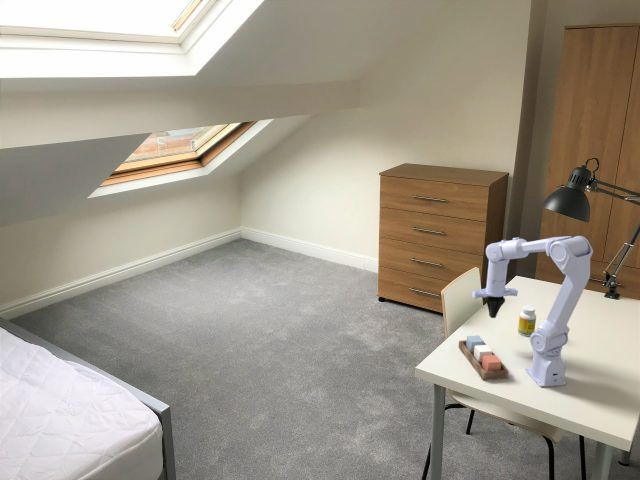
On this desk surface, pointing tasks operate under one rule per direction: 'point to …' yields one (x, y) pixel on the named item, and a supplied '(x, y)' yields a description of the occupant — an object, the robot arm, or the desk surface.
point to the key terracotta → (491, 363)
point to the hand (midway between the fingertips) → (492, 316)
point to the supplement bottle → (527, 321)
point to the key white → (481, 351)
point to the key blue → (473, 342)
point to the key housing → (477, 364)
